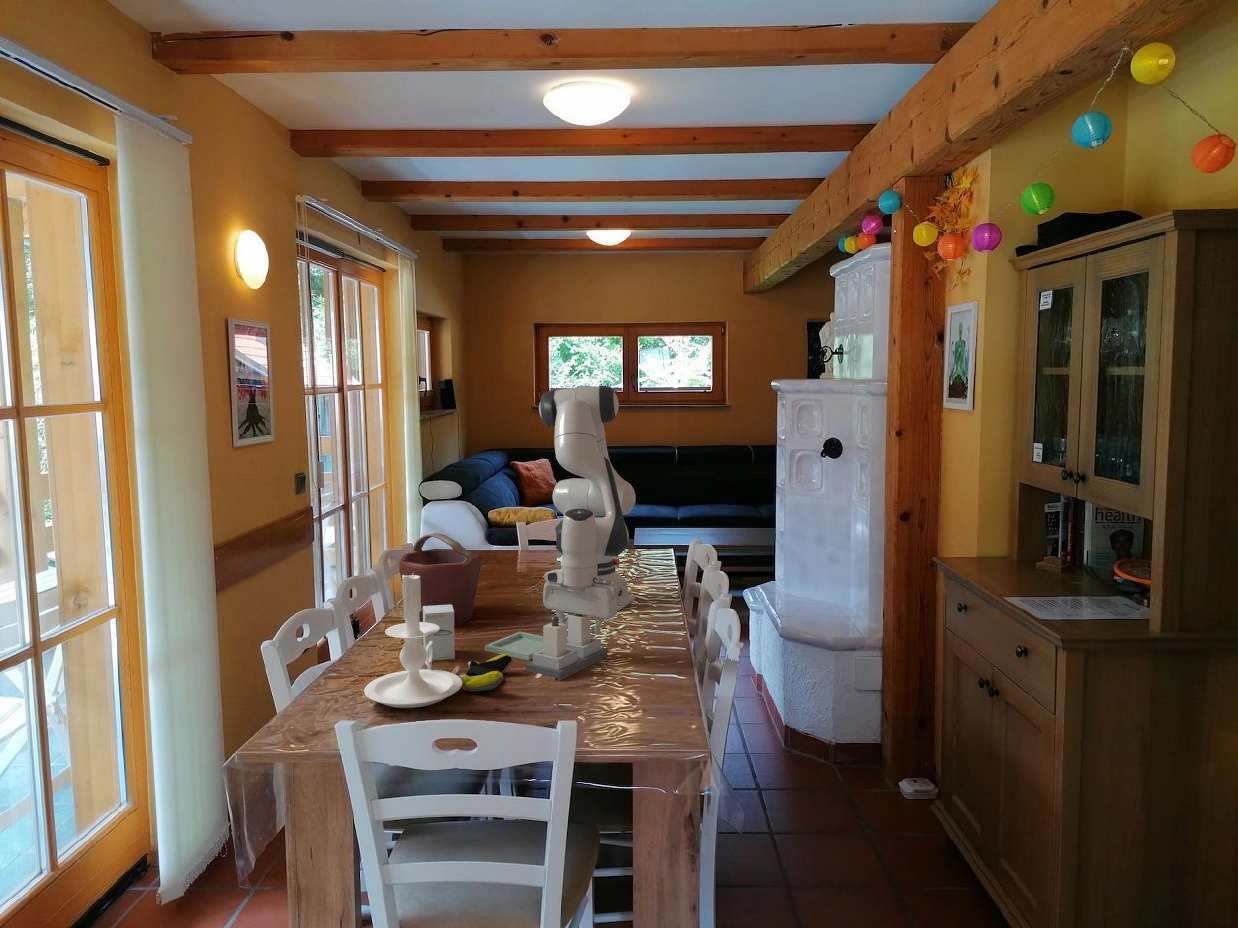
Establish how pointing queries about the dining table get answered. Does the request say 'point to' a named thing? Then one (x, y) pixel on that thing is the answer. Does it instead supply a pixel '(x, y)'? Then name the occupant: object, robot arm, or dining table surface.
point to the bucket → (444, 576)
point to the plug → (579, 629)
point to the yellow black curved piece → (485, 673)
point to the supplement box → (440, 631)
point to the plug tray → (517, 645)
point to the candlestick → (413, 660)
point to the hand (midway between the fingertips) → (579, 630)
